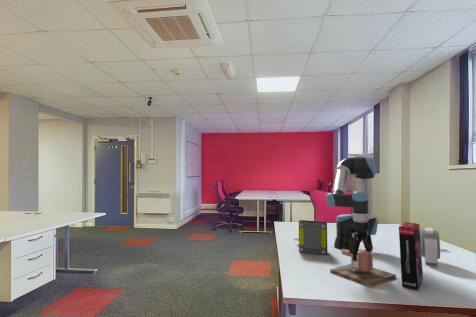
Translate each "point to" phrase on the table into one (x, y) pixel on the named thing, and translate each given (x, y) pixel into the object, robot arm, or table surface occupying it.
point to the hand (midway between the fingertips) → (361, 265)
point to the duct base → (363, 275)
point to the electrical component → (313, 237)
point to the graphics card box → (410, 255)
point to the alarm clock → (430, 246)
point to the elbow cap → (361, 259)
